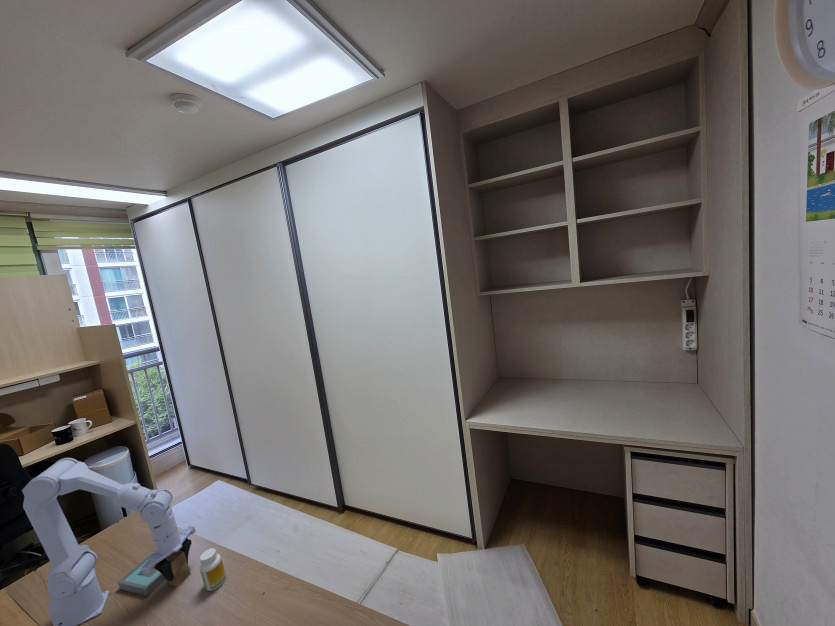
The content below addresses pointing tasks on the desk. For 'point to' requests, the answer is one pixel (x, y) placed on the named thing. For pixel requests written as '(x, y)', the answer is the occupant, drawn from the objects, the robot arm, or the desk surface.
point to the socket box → (141, 580)
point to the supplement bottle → (212, 569)
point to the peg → (178, 567)
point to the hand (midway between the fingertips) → (177, 572)
